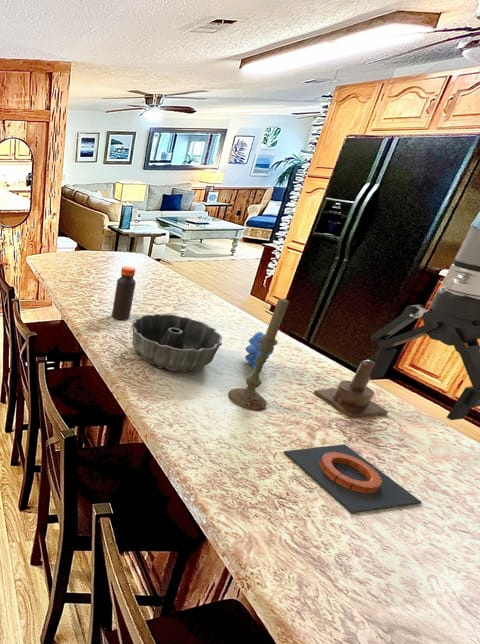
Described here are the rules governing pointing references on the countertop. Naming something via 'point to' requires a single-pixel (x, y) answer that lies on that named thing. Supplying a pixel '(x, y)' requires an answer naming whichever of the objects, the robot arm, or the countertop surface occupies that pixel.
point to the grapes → (254, 349)
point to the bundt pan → (175, 341)
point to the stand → (354, 394)
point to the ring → (345, 481)
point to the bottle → (124, 294)
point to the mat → (351, 500)
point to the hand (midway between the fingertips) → (412, 396)
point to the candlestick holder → (260, 363)
